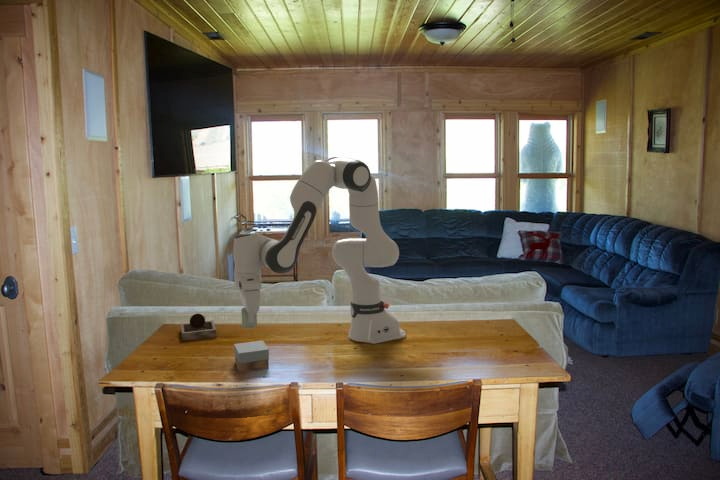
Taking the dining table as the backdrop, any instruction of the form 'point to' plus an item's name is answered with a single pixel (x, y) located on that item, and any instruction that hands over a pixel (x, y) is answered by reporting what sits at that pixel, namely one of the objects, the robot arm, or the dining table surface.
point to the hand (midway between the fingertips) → (249, 319)
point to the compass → (197, 322)
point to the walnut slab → (252, 365)
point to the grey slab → (251, 351)
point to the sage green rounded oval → (245, 319)
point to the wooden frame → (198, 334)
